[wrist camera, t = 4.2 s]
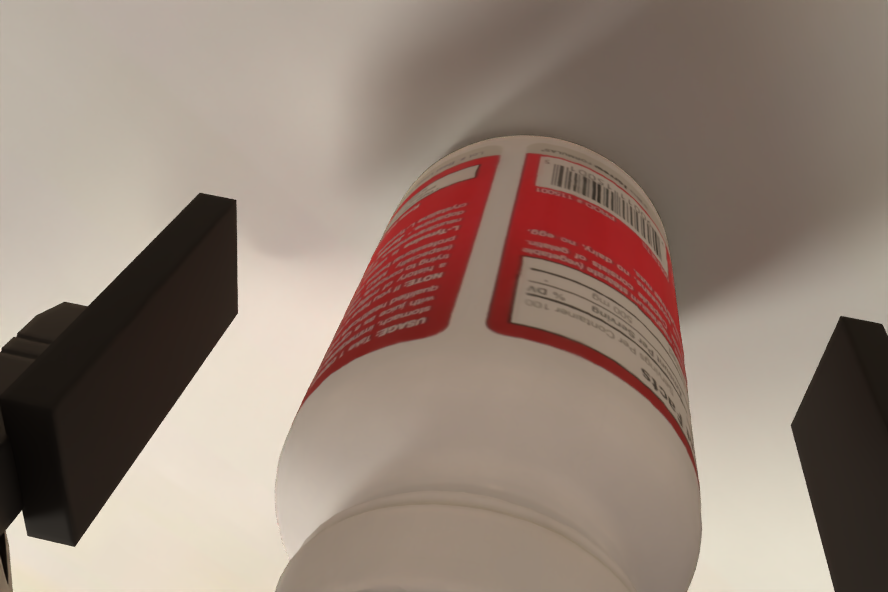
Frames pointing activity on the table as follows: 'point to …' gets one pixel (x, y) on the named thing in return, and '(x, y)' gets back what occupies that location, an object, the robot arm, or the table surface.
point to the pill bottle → (501, 393)
